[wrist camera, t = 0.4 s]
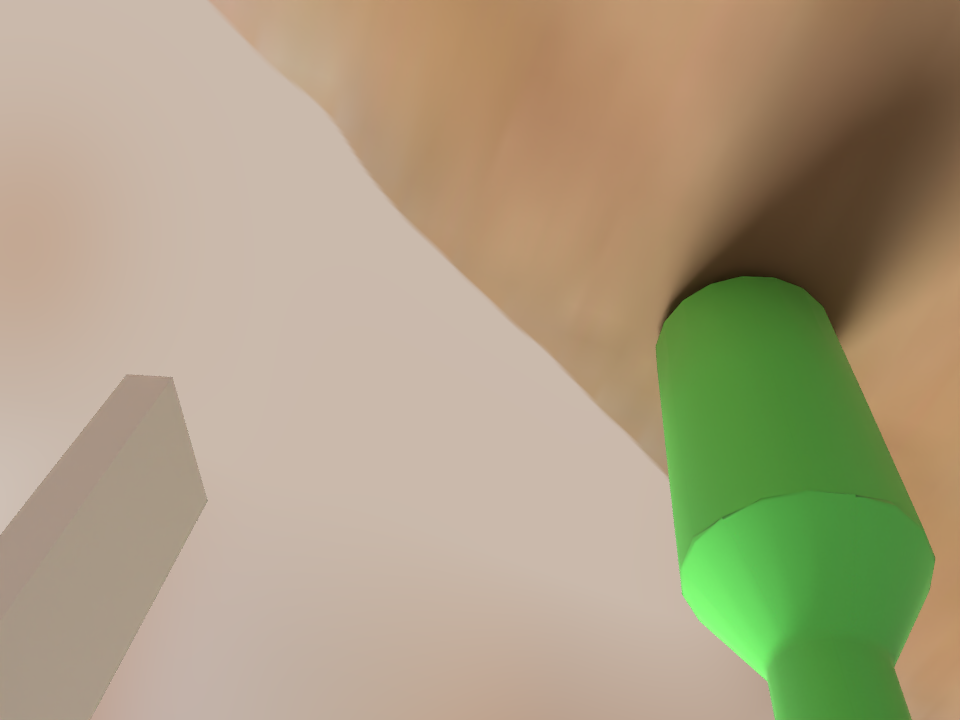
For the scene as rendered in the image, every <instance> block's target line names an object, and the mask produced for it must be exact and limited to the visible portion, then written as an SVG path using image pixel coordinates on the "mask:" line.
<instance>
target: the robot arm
mask: <svg viewBox="0 0 960 720" xmlns="http://www.w3.org/2000/svg"><path fill="white" fill-rule="evenodd" d="M206 503H207V497H206V494H205V491H204V487H203V483H202V480H201V476H200V473H199V469H198V466H197V462H196V459H195V455H194V452H193V448H192V445H191V441H190V438H189V434H188V430H187V427H186V423H185V420H184V416H183V413H182V409H181V406H180V402H179V399H178V395H177V392H176V388H175V385H174V381H173V378H172V377H161V376H143V375H126V376H125V377H124V379H123V380H122V381H121V382H120V384H119V385H118V386H117V388H116V389H115V390H114V391H113V393H112V394H111V395H110V396H109V398H108V399H107V400H106V401H105V403H104V404H103V405H102V407H101V408H100V409H99V411H98V412H97V413H96V414H95V416H94V417H93V418H92V419H91V421H90V422H89V423H88V424H87V426H86V427H85V428H84V429H83V431H82V432H81V433H80V435H79V436H78V437H77V438H76V440H75V441H74V442H73V443H72V445H71V446H70V447H69V449H68V450H67V451H66V452H65V454H64V455H63V456H62V457H61V459H60V460H59V461H58V462H57V464H56V465H55V466H54V468H53V469H52V470H51V471H50V473H49V474H48V475H47V477H46V478H45V479H44V480H43V482H42V483H41V484H40V485H39V487H38V488H37V489H36V490H35V492H34V493H33V494H32V495H31V497H30V498H29V499H28V501H27V502H26V503H25V504H24V506H23V507H22V508H21V509H20V511H19V512H18V513H17V515H16V516H15V517H14V518H13V520H12V521H11V522H10V524H9V525H8V526H7V527H6V529H5V530H4V531H3V532H2V534H1V535H0V720H90V719H91V718H92V716H93V714H94V712H95V710H96V708H97V706H98V704H99V702H100V701H101V699H102V697H103V695H104V693H105V691H106V690H107V687H108V686H109V684H110V682H111V680H112V678H113V676H114V674H115V673H116V671H117V669H118V667H119V665H120V663H121V661H122V660H123V658H124V656H125V654H126V652H127V650H128V648H129V647H130V645H131V643H132V641H133V639H134V637H135V635H136V633H137V632H138V630H139V628H140V626H141V624H142V622H143V620H144V619H145V616H146V615H147V613H148V611H149V609H150V607H151V606H152V604H153V602H154V600H155V598H156V596H157V594H158V592H159V590H160V589H161V587H162V585H163V583H164V581H165V579H166V577H167V576H168V574H169V572H170V570H171V568H172V566H173V564H174V562H175V561H176V559H177V557H178V555H179V553H180V551H181V549H182V548H183V546H184V544H185V542H186V540H187V538H188V536H189V534H190V533H191V531H192V529H193V527H194V525H195V523H196V521H197V520H198V518H199V516H200V514H201V512H202V510H203V508H204V507H205V505H206Z"/></svg>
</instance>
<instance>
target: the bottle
mask: <svg viewBox="0 0 960 720" xmlns="http://www.w3.org/2000/svg"><path fill="white" fill-rule="evenodd" d="M656 358H657V370H658V380H659V389H660V398H661V408H662V417H663V427H664V436H665V445H666V455H667V464H668V473H669V482H670V490H671V499H672V508H673V517H674V526H675V535H676V544H677V552H678V561H679V571H680V579H681V588H682V595H683V596H684V598H685V600H686V601H687V603H688V604H689V606H690V607H691V609H692V610H693V612H694V613H695V615H696V616H697V618H698V619H699V621H700V622H701V623H702V624H703V625H705V626H706V627H707V628H708V629H709V630H710V631H711V632H712V633H714V634H715V635H716V636H717V637H718V638H719V639H720V640H721V641H723V642H724V643H725V644H726V645H727V646H728V647H729V648H730V649H732V650H733V651H734V652H735V653H736V654H737V655H738V656H739V657H741V658H742V659H743V660H744V661H745V662H746V663H747V664H749V665H750V666H751V667H752V668H753V669H754V670H755V671H756V672H757V673H759V674H760V675H761V676H762V677H763V678H764V679H765V680H766V681H768V686H769V691H770V696H771V701H772V706H773V711H774V717H775V720H912V719H911V716H910V713H909V710H908V707H907V704H906V702H905V699H904V696H903V693H902V690H901V687H900V684H899V681H898V678H897V675H896V672H895V669H894V666H895V664H896V662H897V660H898V658H899V656H900V653H901V651H902V649H903V647H904V645H905V643H906V640H907V638H908V636H909V634H910V632H911V630H912V627H913V625H914V623H915V621H916V619H917V617H918V614H919V612H920V610H921V608H922V606H923V604H924V601H925V599H926V597H927V595H928V592H929V590H930V585H931V580H932V574H933V569H934V563H935V556H934V553H933V551H932V548H931V546H930V544H929V541H928V539H927V536H926V534H925V531H924V529H923V526H922V524H921V522H920V520H919V518H918V515H917V513H916V511H915V509H914V506H913V504H912V502H911V500H910V497H909V495H908V493H907V491H906V489H905V486H904V484H903V482H902V480H901V477H900V475H899V473H898V471H897V469H896V466H895V464H894V462H893V460H892V457H891V455H890V453H889V451H888V448H887V446H886V444H885V442H884V440H883V437H882V435H881V433H880V431H879V428H878V426H877V424H876V422H875V420H874V417H873V415H872V413H871V411H870V408H869V406H868V404H867V402H866V399H865V397H864V395H863V393H862V391H861V388H860V386H859V384H858V382H857V380H856V377H855V375H854V373H853V371H852V369H851V366H850V364H849V362H848V360H847V358H846V356H845V353H844V351H843V349H842V347H841V345H840V342H839V340H838V338H837V336H836V334H835V331H834V329H833V327H832V325H831V323H830V320H829V318H828V316H827V314H826V312H825V309H824V307H823V306H822V305H821V304H820V303H819V302H817V301H816V300H815V299H814V298H813V297H812V296H811V295H810V294H809V293H808V292H807V291H805V290H804V289H803V288H801V287H799V286H796V285H793V284H791V283H788V282H785V281H782V280H780V279H777V278H774V277H750V276H741V277H737V278H733V279H729V280H725V281H721V282H717V283H713V284H710V285H708V286H706V287H705V288H703V289H701V290H700V291H698V292H696V293H695V294H693V295H691V296H690V297H688V298H686V299H684V300H683V301H682V302H681V303H680V304H679V306H678V307H677V308H676V309H675V310H674V311H673V313H672V314H671V315H670V316H669V317H668V318H667V320H666V321H665V322H664V324H663V327H662V330H661V333H660V335H659V338H658V341H657V344H656Z"/></svg>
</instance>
